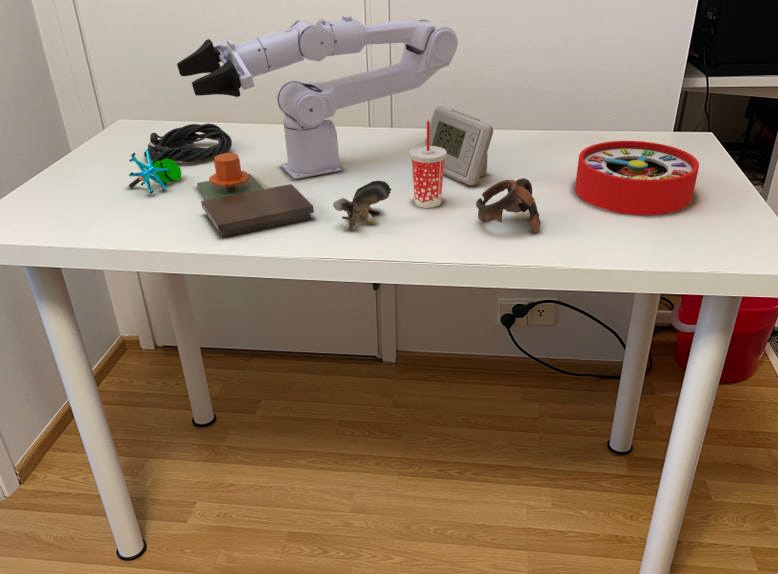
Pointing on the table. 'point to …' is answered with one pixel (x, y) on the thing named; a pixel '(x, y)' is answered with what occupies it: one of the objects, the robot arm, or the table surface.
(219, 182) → the hat
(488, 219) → the brown broken ring
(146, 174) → the stick construction toy
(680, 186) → the toy clock
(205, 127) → the cable
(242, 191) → the stand
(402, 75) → the robot arm
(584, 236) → the table surface
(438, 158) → the beverage cup
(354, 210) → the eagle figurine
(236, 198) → the stand
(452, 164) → the digital clock
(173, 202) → the table surface
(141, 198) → the table surface
